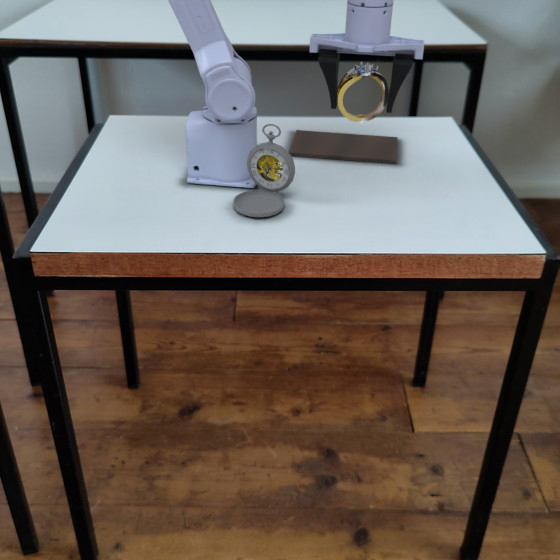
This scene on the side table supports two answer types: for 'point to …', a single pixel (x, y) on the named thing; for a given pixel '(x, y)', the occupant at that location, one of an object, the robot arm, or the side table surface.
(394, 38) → the robot arm
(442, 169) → the side table surface
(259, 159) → the pocket watch
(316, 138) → the mat
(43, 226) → the side table surface
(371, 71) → the ring
